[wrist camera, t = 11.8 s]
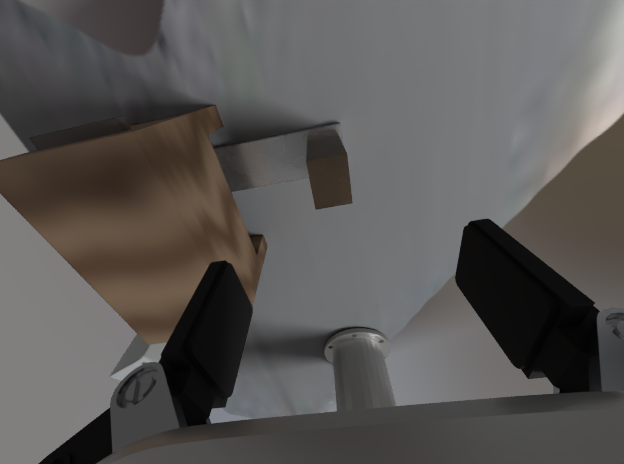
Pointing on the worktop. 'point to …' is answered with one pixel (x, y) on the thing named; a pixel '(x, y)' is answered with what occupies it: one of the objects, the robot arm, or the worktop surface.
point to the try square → (292, 163)
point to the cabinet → (136, 212)
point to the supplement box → (137, 357)
